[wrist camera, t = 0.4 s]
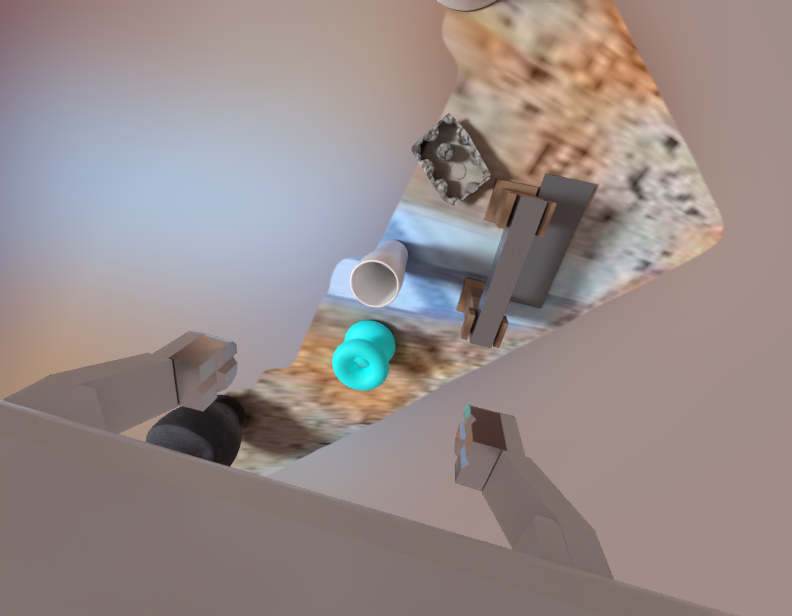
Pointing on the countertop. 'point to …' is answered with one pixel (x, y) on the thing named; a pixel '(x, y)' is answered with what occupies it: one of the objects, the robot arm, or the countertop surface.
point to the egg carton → (445, 154)
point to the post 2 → (505, 199)
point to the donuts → (364, 355)
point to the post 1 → (475, 309)
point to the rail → (506, 268)
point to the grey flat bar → (551, 238)
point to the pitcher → (202, 431)
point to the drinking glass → (380, 274)
